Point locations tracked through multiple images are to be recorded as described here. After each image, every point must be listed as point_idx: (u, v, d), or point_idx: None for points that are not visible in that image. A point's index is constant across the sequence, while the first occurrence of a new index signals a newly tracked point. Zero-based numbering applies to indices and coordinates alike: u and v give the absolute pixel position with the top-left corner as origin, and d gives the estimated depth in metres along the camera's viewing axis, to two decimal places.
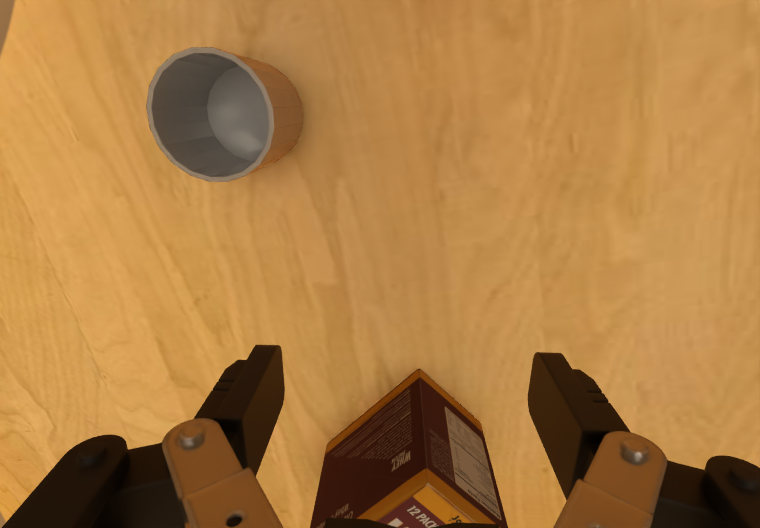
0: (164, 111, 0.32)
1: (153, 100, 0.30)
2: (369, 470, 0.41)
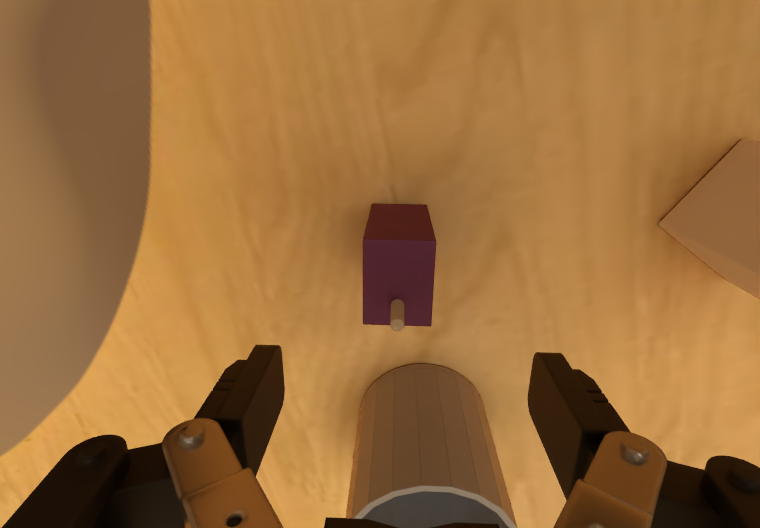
0: None
1: None
2: None
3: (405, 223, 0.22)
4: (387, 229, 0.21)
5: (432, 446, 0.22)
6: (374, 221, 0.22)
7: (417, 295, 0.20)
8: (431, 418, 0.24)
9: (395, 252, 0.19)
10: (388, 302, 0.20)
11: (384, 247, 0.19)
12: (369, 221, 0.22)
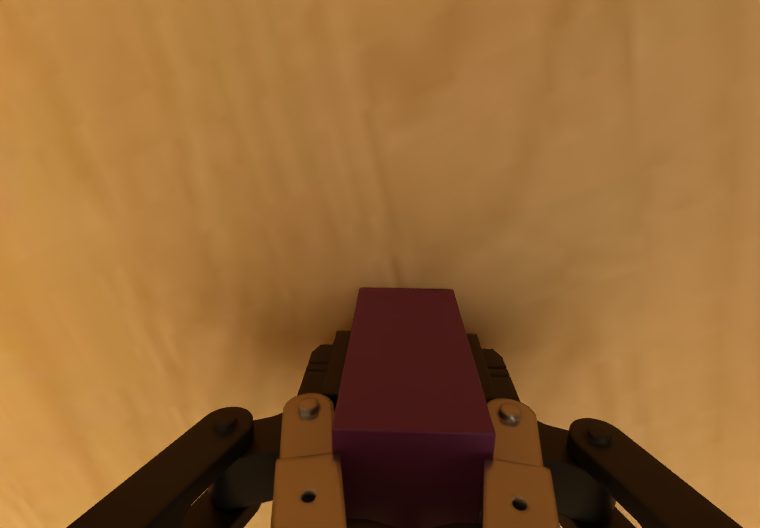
0: None
1: None
2: None
3: (422, 354, 0.11)
4: (387, 382, 0.10)
5: None
6: (361, 348, 0.11)
7: None
8: None
9: (404, 454, 0.09)
10: None
11: (379, 445, 0.09)
12: (351, 349, 0.11)
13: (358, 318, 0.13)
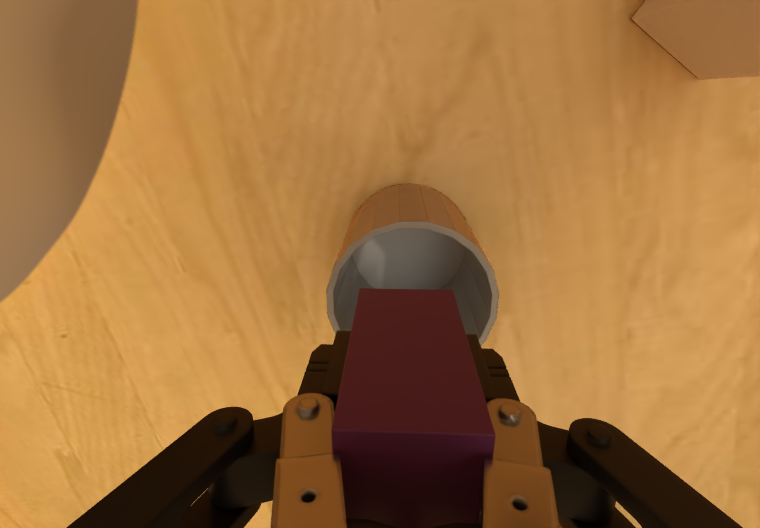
0: (337, 283, 0.24)
1: (336, 282, 0.22)
2: None
3: (422, 354, 0.11)
4: (387, 382, 0.10)
5: (412, 209, 0.23)
6: (361, 349, 0.11)
7: None
8: (412, 200, 0.25)
9: (403, 455, 0.09)
10: None
11: (379, 446, 0.09)
12: (351, 349, 0.11)
13: (358, 318, 0.13)
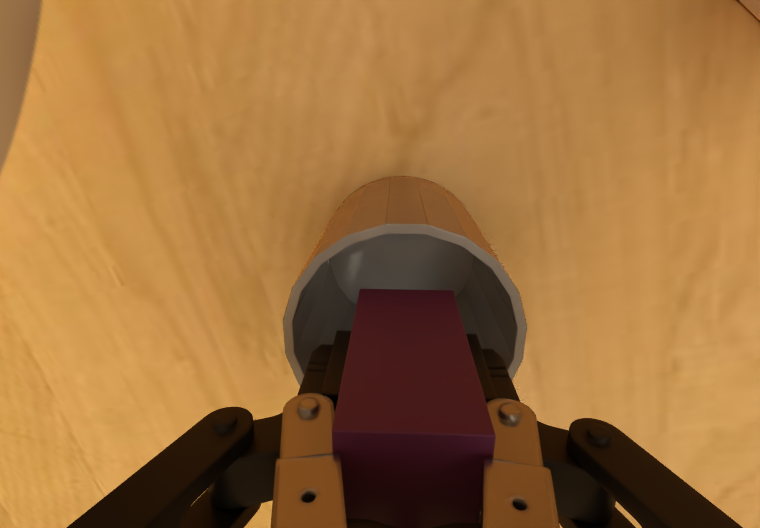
0: (302, 308, 0.18)
1: (296, 309, 0.16)
2: None
3: (422, 354, 0.11)
4: (387, 383, 0.10)
5: (405, 207, 0.17)
6: (361, 349, 0.11)
7: None
8: (405, 196, 0.19)
9: (403, 455, 0.09)
10: None
11: (380, 446, 0.09)
12: (351, 350, 0.11)
13: (358, 319, 0.13)
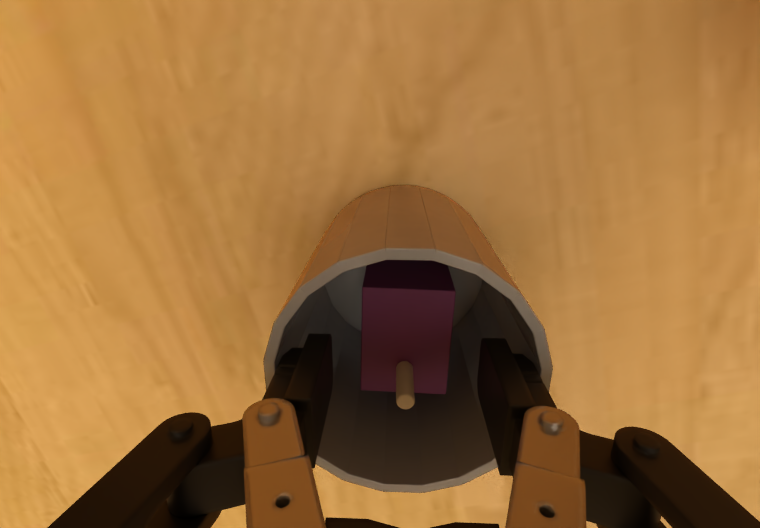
0: (288, 342, 0.15)
1: (279, 347, 0.13)
2: None
3: (415, 261, 0.18)
4: (393, 271, 0.17)
5: (408, 224, 0.14)
6: None
7: (429, 356, 0.16)
8: (408, 210, 0.16)
9: (403, 304, 0.15)
10: (392, 365, 0.16)
11: (389, 298, 0.15)
12: None
13: None
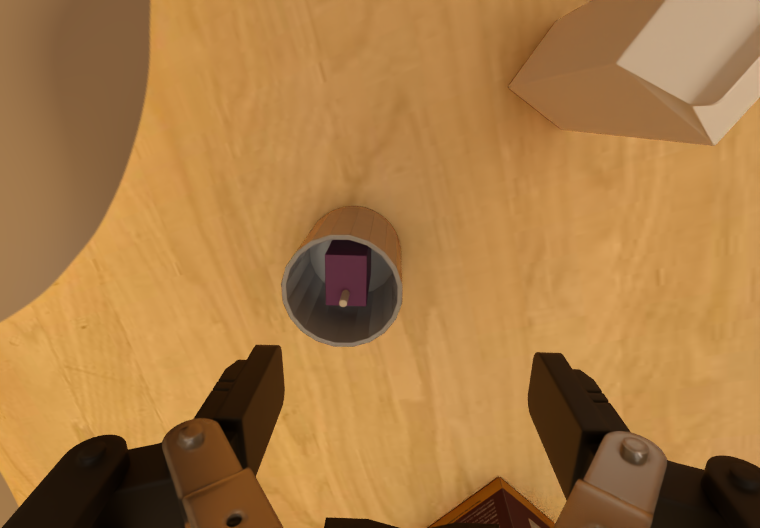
0: (291, 279, 0.33)
1: (288, 278, 0.32)
2: None
3: (353, 244, 0.36)
4: (341, 248, 0.35)
5: (343, 226, 0.33)
6: (334, 243, 0.36)
7: (357, 287, 0.34)
8: (347, 219, 0.35)
9: (343, 262, 0.34)
10: (340, 291, 0.34)
11: (337, 259, 0.34)
12: (331, 243, 0.36)
13: None
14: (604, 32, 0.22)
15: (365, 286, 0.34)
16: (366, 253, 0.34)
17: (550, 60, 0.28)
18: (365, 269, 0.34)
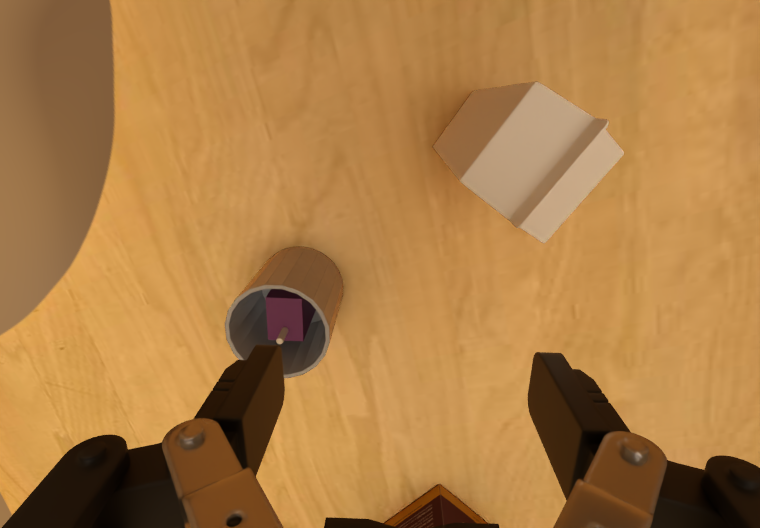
0: (236, 318, 0.38)
1: (230, 319, 0.37)
2: None
3: None
4: (282, 290, 0.40)
5: (281, 273, 0.37)
6: None
7: (294, 325, 0.39)
8: (287, 265, 0.39)
9: (282, 304, 0.38)
10: (280, 328, 0.39)
11: (276, 301, 0.38)
12: None
13: None
14: (472, 138, 0.27)
15: (302, 324, 0.39)
16: None
17: (451, 139, 0.33)
18: (301, 310, 0.39)
